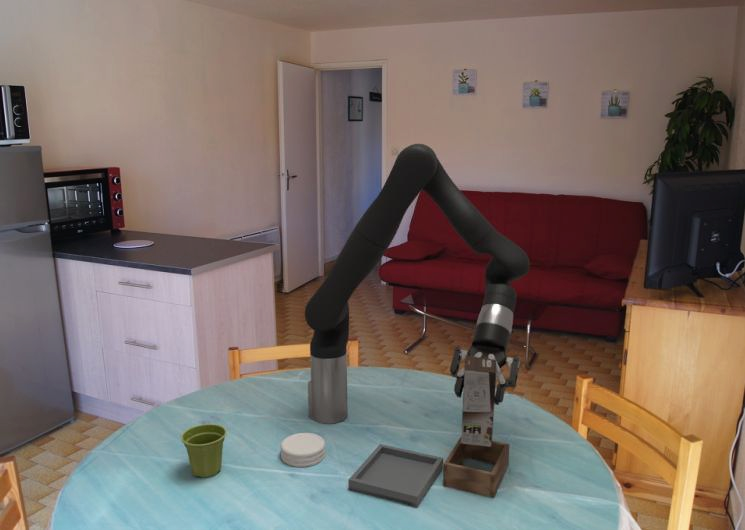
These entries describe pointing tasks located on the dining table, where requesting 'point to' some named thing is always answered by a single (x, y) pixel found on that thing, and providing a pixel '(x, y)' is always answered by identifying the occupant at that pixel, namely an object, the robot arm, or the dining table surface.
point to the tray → (396, 475)
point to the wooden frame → (472, 477)
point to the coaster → (303, 449)
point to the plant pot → (204, 448)
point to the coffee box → (478, 400)
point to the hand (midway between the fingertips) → (477, 399)
